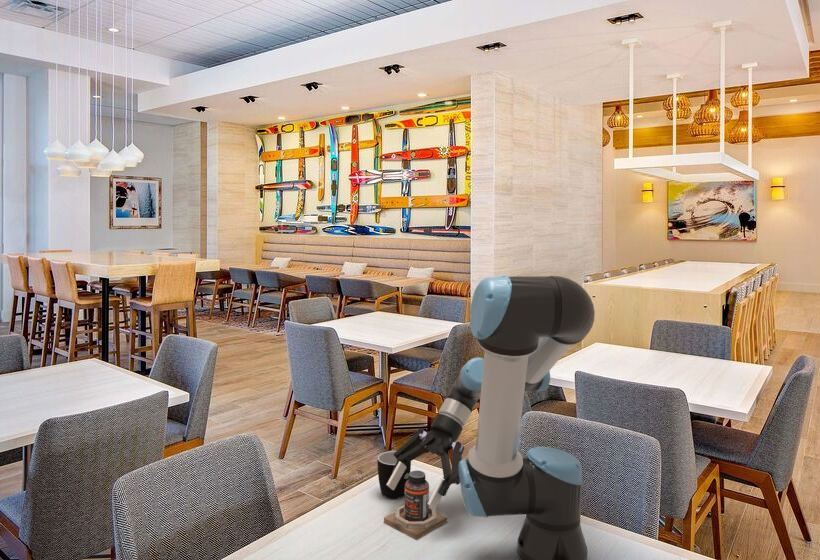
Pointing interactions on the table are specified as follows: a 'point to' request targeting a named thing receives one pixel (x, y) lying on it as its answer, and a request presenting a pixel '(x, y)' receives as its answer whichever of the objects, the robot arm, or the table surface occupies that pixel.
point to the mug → (384, 473)
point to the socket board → (415, 528)
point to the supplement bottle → (416, 497)
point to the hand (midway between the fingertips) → (409, 496)
